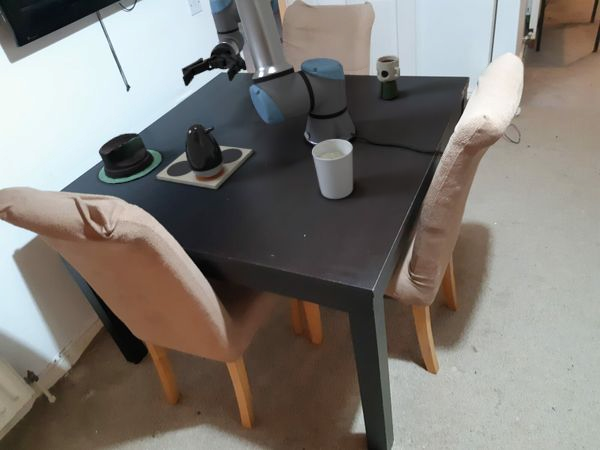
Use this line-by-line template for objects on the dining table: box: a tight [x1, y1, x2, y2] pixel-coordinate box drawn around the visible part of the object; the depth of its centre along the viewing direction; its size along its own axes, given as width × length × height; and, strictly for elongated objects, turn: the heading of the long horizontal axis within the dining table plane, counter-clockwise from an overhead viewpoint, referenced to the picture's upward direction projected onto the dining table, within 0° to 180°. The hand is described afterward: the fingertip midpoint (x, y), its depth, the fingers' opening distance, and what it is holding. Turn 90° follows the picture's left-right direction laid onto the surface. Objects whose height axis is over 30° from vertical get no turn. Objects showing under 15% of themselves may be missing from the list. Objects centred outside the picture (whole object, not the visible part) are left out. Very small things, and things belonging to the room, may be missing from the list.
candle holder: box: [311, 139, 354, 200], centre depth 109 cm, size 10×10×12 cm
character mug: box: [375, 55, 401, 100], centre depth 147 cm, size 11×7×13 cm, turn 34°
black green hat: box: [98, 132, 162, 184], centre depth 138 cm, size 15×19×20 cm
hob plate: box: [155, 145, 254, 190], centre depth 133 cm, size 22×20×1 cm
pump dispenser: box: [184, 123, 224, 178], centre depth 122 cm, size 10×10×15 cm
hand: (207, 79), depth 127 cm, fingers open, 13 cm apart
